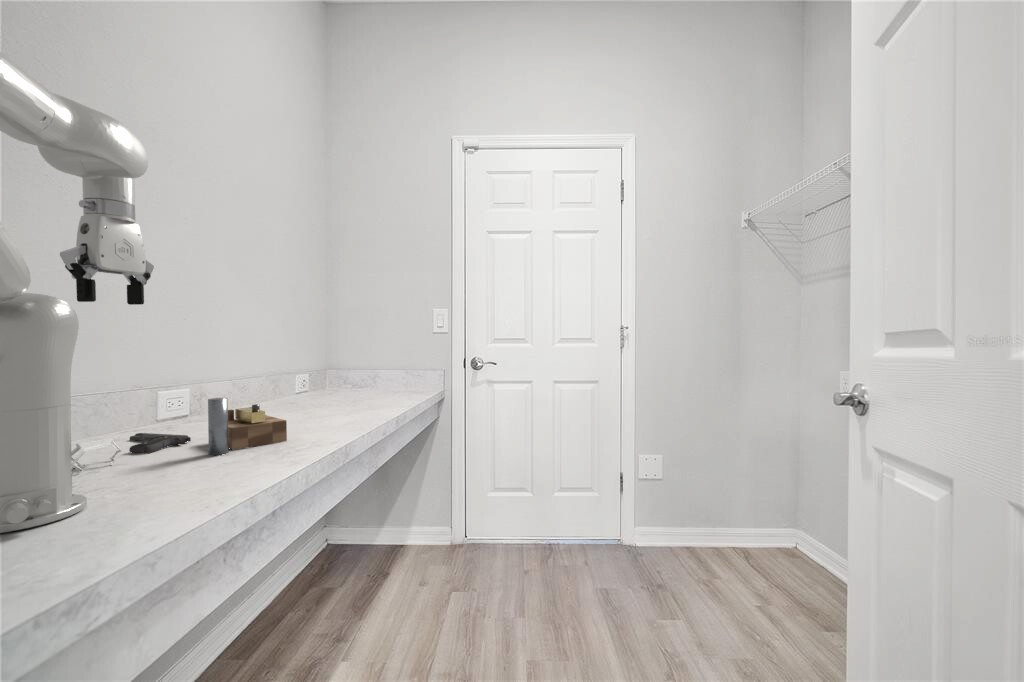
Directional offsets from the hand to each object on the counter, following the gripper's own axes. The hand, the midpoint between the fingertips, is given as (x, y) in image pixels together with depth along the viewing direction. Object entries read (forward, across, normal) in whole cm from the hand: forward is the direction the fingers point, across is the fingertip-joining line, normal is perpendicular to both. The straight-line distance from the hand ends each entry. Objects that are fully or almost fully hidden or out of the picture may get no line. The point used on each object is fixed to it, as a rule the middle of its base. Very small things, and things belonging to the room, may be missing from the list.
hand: (112, 303), depth 88 cm
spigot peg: (+32, +12, -12) cm, 36 cm away
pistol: (+33, +18, +12) cm, 40 cm away
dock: (+32, +24, -11) cm, 41 cm away
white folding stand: (+32, 0, +5) cm, 33 cm away
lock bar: (+27, +24, -11) cm, 38 cm away
